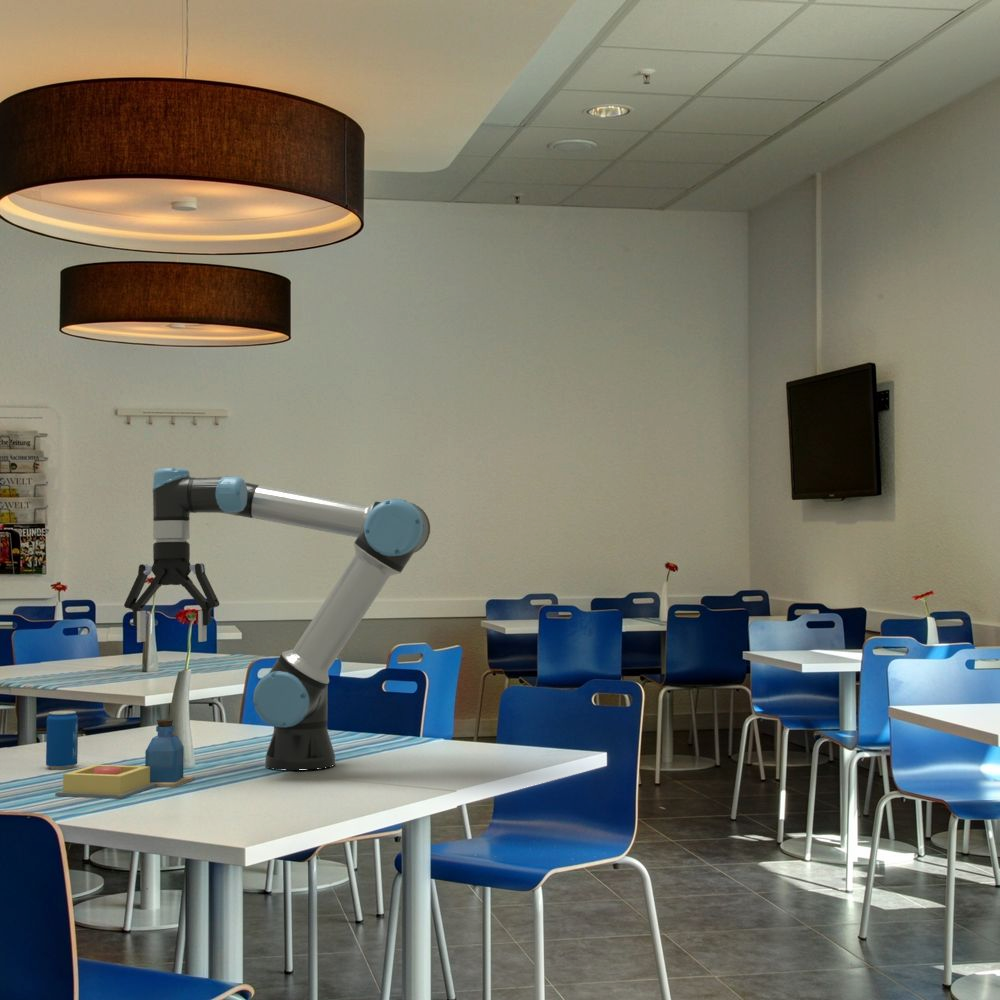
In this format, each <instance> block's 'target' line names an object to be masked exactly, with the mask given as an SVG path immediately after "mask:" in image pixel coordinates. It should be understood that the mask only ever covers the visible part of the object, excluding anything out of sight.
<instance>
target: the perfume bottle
mask: <svg viewBox="0 0 1000 1000" xmlns="http://www.w3.org/2000/svg"><path fill="white" fill-rule="evenodd" d="M156 722H157V726H156V727H155V732H157V735H155V736H154V737H152V738H151V740H150V742H149V744H148V746H147V748H146V749H145V751H144V753H145V756H144V757H145V758H144V759H145V761H144V762H145V763H144V765H145V766H149V767H150V782H177V781H178V780H180V779H181V778H183V776H184V749H185V748H184V745H183V743H182V741H181V740H180V738H179V736H178V735H177V734H175V735H173V732H174V725H173V723H174V719H172V718H171V719H169V718H168V719H166V718H163V719H157V720H156Z"/></svg>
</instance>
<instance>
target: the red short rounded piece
mask: <svg viewBox="0 0 1000 1000" xmlns="http://www.w3.org/2000/svg"><path fill="white" fill-rule="evenodd" d="M94 774H110V775H118V774H121V767H118V766H103V767H96V768H94Z"/></svg>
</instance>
